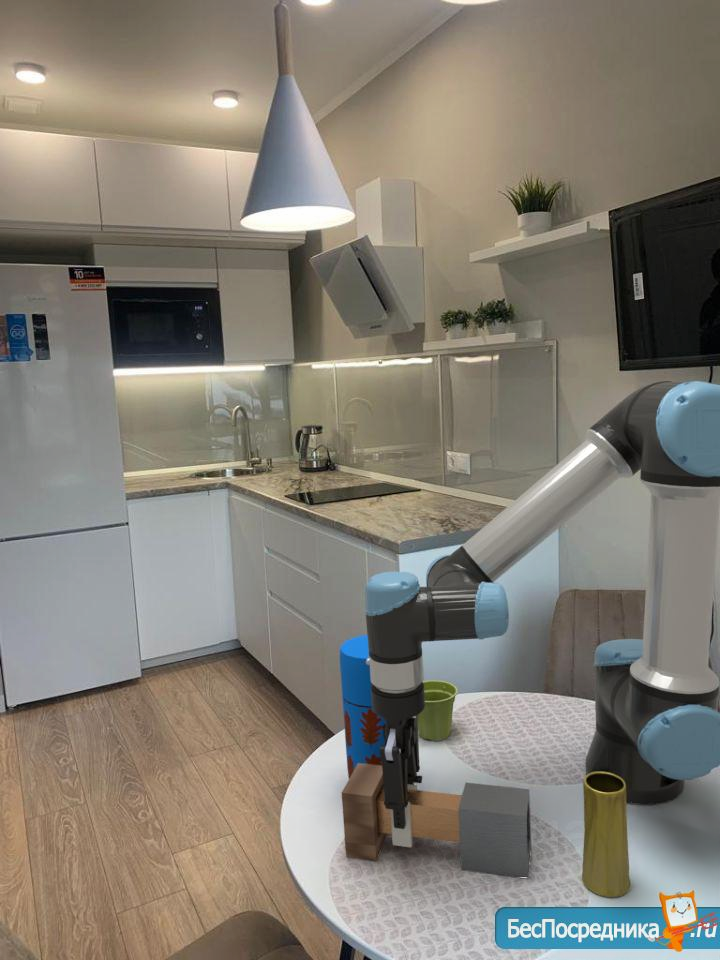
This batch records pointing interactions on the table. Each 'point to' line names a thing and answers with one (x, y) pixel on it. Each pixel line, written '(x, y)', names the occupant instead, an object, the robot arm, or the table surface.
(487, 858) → the sleeve
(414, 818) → the rectangular peg
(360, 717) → the thermos
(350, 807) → the socket block
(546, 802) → the table surface
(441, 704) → the plant pot
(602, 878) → the vase
